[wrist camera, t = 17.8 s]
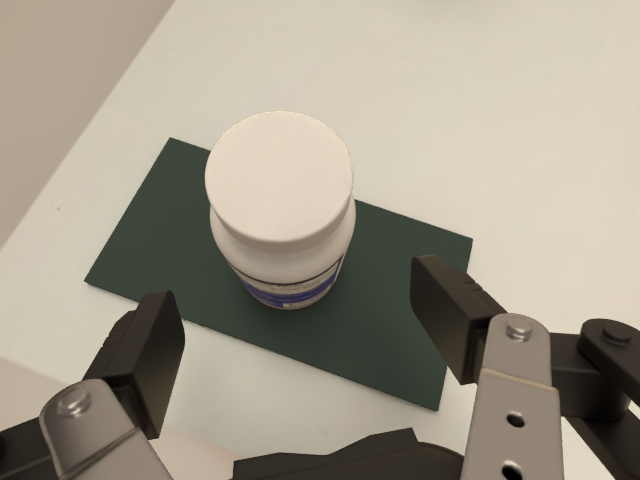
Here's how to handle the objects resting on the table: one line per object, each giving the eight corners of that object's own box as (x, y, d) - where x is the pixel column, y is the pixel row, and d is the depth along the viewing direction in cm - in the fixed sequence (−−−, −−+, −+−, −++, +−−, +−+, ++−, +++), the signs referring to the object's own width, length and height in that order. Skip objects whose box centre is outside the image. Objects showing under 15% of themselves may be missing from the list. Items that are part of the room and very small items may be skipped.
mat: (87, 282, 20) (83, 281, 19) (171, 140, 23) (169, 136, 23) (435, 411, 19) (438, 411, 18) (470, 241, 22) (473, 238, 22)
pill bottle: (265, 201, 22) (239, 73, 12) (353, 236, 21) (396, 131, 12) (220, 287, 20) (149, 213, 10) (316, 328, 19) (333, 288, 10)
